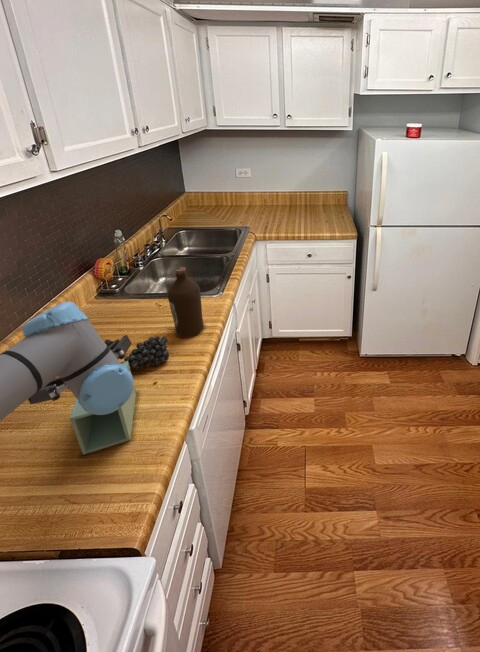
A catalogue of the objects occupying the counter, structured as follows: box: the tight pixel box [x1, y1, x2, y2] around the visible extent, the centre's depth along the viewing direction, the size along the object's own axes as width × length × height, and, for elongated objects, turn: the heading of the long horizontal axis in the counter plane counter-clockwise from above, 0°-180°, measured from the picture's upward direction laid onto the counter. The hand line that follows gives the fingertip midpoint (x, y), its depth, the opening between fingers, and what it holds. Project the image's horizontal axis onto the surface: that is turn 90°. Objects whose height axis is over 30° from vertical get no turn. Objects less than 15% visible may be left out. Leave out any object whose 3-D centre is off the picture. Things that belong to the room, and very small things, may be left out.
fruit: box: [123, 335, 171, 372], centre depth 104 cm, size 9×8×15 cm
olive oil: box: [167, 266, 204, 338], centre depth 117 cm, size 11×11×25 cm
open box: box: [69, 361, 137, 455], centre depth 84 cm, size 15×10×12 cm, turn 22°
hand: (78, 362), depth 79 cm, fingers open, 13 cm apart
